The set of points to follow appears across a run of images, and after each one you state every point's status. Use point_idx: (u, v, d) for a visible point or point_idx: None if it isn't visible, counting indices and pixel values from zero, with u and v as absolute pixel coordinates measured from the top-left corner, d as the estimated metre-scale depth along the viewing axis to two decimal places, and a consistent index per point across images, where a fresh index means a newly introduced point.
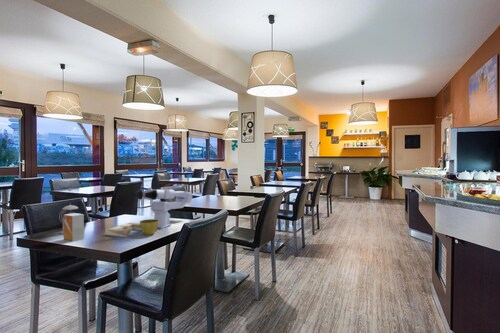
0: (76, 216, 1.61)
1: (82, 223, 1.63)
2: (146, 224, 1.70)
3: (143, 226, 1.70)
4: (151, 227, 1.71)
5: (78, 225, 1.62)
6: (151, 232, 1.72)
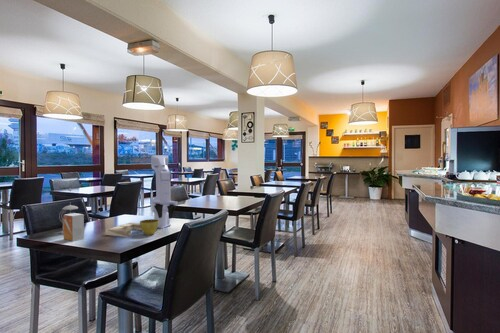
0: (76, 216, 1.61)
1: (82, 223, 1.63)
2: (146, 224, 1.70)
3: (143, 226, 1.70)
4: (151, 227, 1.71)
5: (78, 225, 1.62)
6: (151, 232, 1.72)
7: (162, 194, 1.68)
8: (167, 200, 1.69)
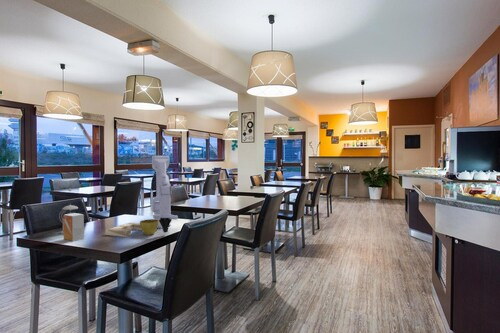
0: (76, 216, 1.61)
1: (82, 223, 1.63)
2: (146, 224, 1.70)
3: (143, 226, 1.70)
4: (151, 227, 1.71)
5: (78, 225, 1.62)
6: (151, 232, 1.72)
7: (162, 208, 1.68)
8: (167, 214, 1.69)
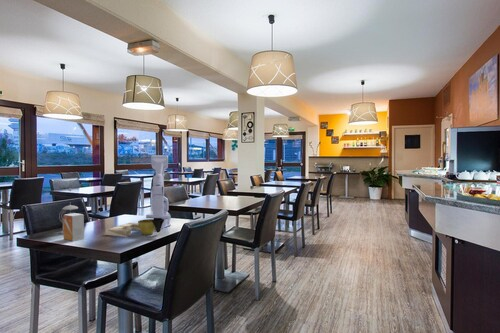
0: (76, 216, 1.61)
1: (82, 223, 1.63)
2: (145, 224, 1.70)
3: (141, 226, 1.71)
4: (149, 227, 1.71)
5: (78, 225, 1.62)
6: (149, 232, 1.73)
7: (155, 208, 1.70)
8: (160, 214, 1.71)
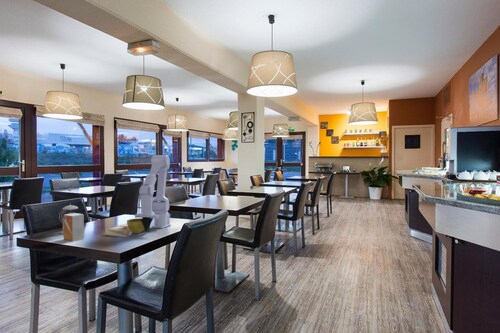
0: (76, 216, 1.61)
1: (82, 223, 1.63)
2: (133, 223, 1.73)
3: (130, 225, 1.73)
4: (138, 226, 1.74)
5: (78, 225, 1.62)
6: (138, 231, 1.75)
7: (143, 208, 1.72)
8: (148, 214, 1.73)
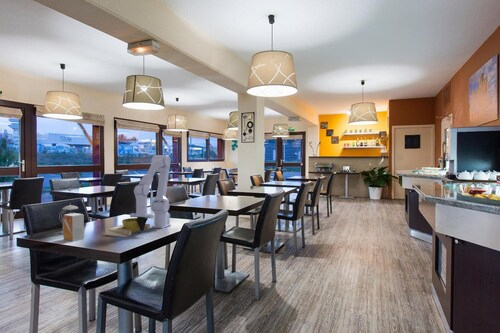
0: (76, 216, 1.61)
1: (82, 223, 1.63)
2: (128, 223, 1.74)
3: (125, 224, 1.74)
4: (133, 225, 1.75)
5: (78, 225, 1.62)
6: (133, 230, 1.76)
7: (138, 207, 1.74)
8: (143, 213, 1.74)
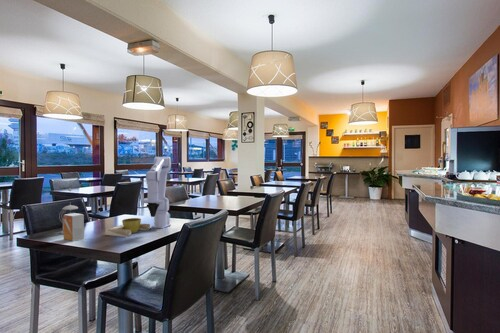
0: (76, 216, 1.61)
1: (82, 223, 1.63)
2: (128, 223, 1.74)
3: (125, 225, 1.74)
4: (133, 226, 1.75)
5: (78, 225, 1.62)
6: (133, 230, 1.76)
7: (150, 193, 1.73)
8: (154, 199, 1.74)
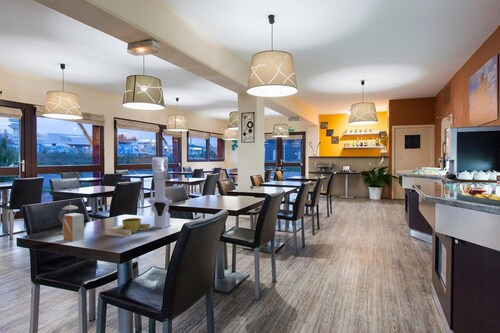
0: (76, 216, 1.61)
1: (82, 223, 1.63)
2: (128, 223, 1.74)
3: (125, 224, 1.74)
4: (133, 225, 1.75)
5: (78, 225, 1.62)
6: (133, 230, 1.76)
7: (157, 193, 1.75)
8: (162, 199, 1.75)
